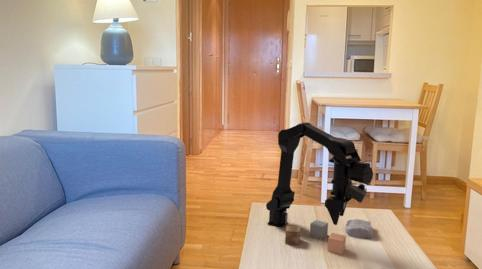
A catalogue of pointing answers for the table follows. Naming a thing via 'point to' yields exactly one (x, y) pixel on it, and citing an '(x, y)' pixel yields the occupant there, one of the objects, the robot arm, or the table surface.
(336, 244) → the terracotta cube
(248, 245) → the table surface
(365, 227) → the stone block
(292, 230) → the walnut cube
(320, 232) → the slate grey cube
